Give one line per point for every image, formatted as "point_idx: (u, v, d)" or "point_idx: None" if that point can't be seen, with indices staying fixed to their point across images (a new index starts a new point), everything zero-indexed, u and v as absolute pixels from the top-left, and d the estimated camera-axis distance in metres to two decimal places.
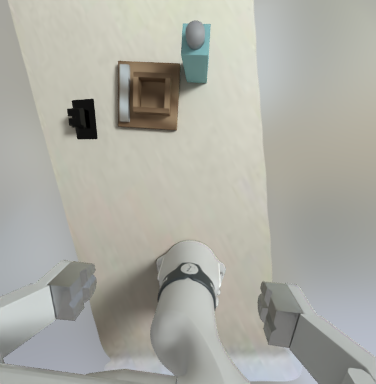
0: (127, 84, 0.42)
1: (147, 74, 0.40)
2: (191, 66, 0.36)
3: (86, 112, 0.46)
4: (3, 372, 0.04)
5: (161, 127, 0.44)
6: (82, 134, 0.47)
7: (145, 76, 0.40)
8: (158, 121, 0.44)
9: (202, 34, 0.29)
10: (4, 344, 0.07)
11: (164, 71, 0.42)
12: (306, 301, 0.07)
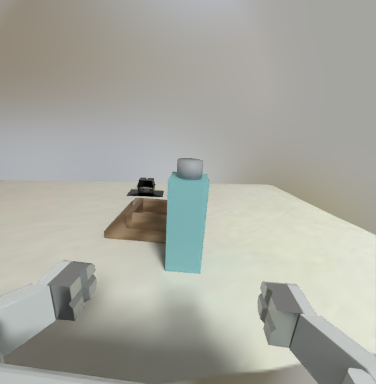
0: None
1: None
2: None
3: (151, 191, 0.52)
4: (3, 372, 0.04)
5: (114, 221, 0.33)
6: (135, 190, 0.53)
7: None
8: (123, 220, 0.34)
9: (187, 161, 0.21)
10: (4, 344, 0.07)
11: None
12: (306, 301, 0.07)
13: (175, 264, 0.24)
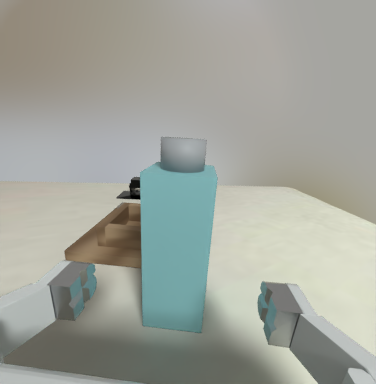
0: None
1: None
2: None
3: None
4: (3, 372, 0.04)
5: (85, 235, 0.24)
6: (127, 192, 0.45)
7: None
8: None
9: (176, 138, 0.11)
10: (4, 344, 0.07)
11: None
12: (306, 301, 0.07)
13: (158, 317, 0.14)
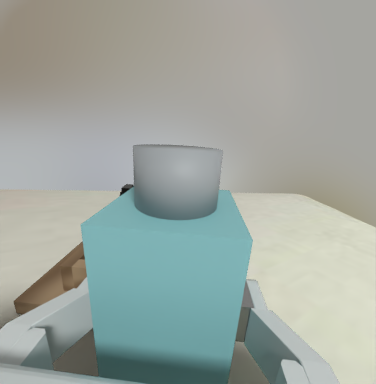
0: None
1: None
2: None
3: None
4: (3, 372, 0.04)
5: (51, 271, 0.18)
6: None
7: None
8: None
9: (160, 149, 0.05)
10: (52, 351, 0.06)
11: None
12: (260, 296, 0.07)
13: None
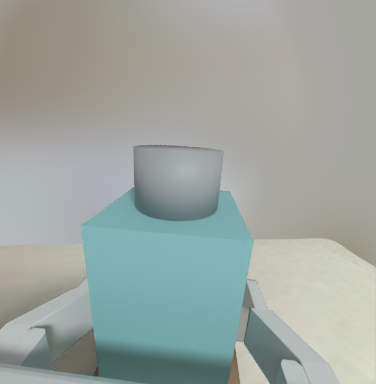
0: None
1: None
2: None
3: None
4: (3, 372, 0.04)
5: None
6: None
7: None
8: None
9: (161, 150, 0.05)
10: (52, 351, 0.06)
11: None
12: (260, 296, 0.07)
13: None
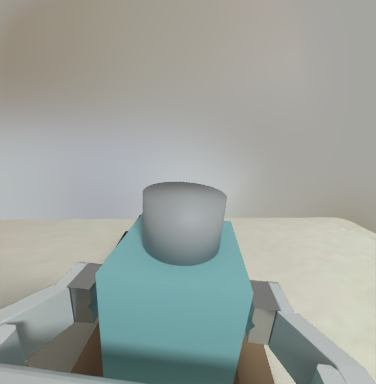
0: None
1: None
2: None
3: None
4: (3, 372, 0.04)
5: None
6: None
7: None
8: None
9: (170, 203, 0.06)
10: (26, 347, 0.07)
11: None
12: (285, 299, 0.07)
13: None
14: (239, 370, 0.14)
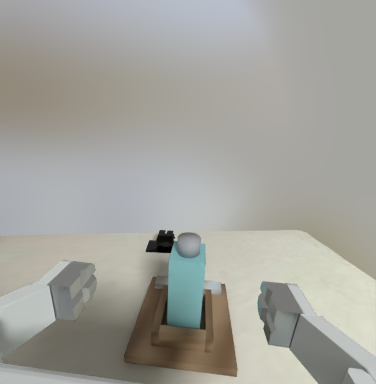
0: None
1: (209, 305, 0.28)
2: None
3: (171, 246, 0.48)
4: (3, 372, 0.04)
5: (136, 328, 0.27)
6: (153, 243, 0.50)
7: (206, 302, 0.29)
8: (146, 324, 0.28)
9: (185, 242, 0.23)
10: (4, 344, 0.07)
11: (220, 339, 0.26)
12: (306, 301, 0.07)
13: None
14: (214, 307, 0.31)
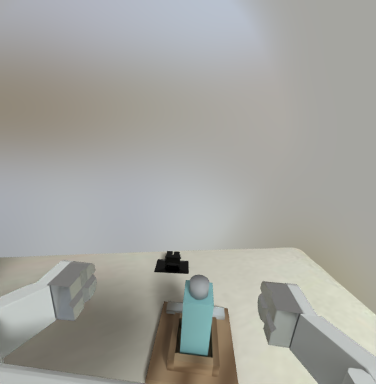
0: None
1: (215, 333, 0.33)
2: None
3: (177, 266, 0.54)
4: (3, 372, 0.04)
5: (153, 354, 0.32)
6: (161, 262, 0.56)
7: (212, 330, 0.34)
8: (161, 350, 0.32)
9: (197, 287, 0.28)
10: (4, 344, 0.07)
11: (225, 364, 0.31)
12: (306, 301, 0.07)
13: None
14: (219, 332, 0.36)
